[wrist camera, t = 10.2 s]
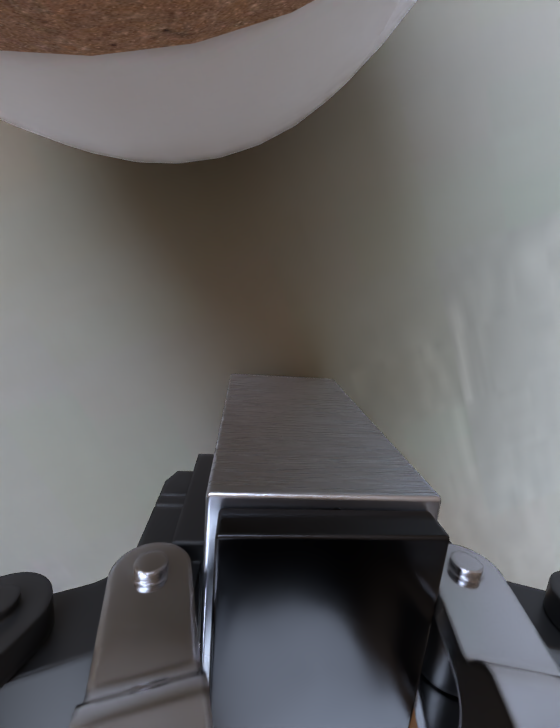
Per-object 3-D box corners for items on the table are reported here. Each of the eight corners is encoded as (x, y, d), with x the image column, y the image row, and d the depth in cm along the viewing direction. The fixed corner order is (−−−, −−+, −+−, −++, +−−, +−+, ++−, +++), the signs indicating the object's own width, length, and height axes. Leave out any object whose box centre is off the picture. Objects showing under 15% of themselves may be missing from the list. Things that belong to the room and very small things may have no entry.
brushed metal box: (333, 378, 12) (469, 524, 5) (318, 504, 13) (409, 785, 6) (230, 372, 12) (199, 521, 4) (224, 502, 13) (189, 802, 5)
